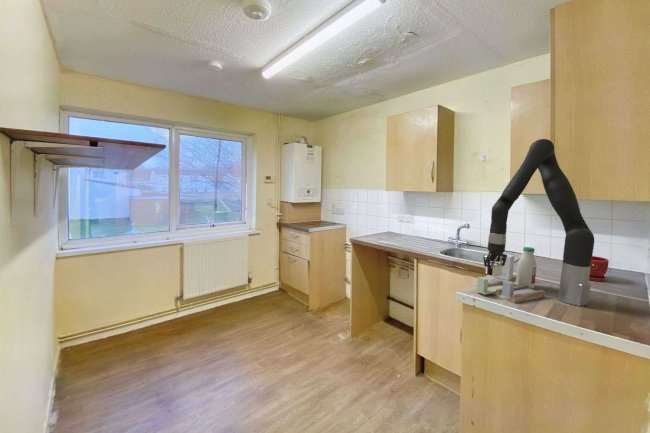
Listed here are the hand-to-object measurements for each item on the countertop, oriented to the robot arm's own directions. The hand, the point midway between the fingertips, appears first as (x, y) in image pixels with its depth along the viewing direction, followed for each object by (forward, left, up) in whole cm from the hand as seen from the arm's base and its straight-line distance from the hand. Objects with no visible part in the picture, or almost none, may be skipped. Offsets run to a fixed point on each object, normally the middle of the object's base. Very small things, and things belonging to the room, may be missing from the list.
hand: (493, 274), depth 144 cm
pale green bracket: (-8, +8, -5) cm, 12 cm away
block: (0, 0, 0) cm, 0 cm away
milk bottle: (-6, -15, -6) cm, 17 cm away
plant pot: (-9, -63, -6) cm, 64 cm away
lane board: (-11, +1, -6) cm, 13 cm away
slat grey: (-15, +1, -5) cm, 16 cm away
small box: (+7, -16, -6) cm, 18 cm away
